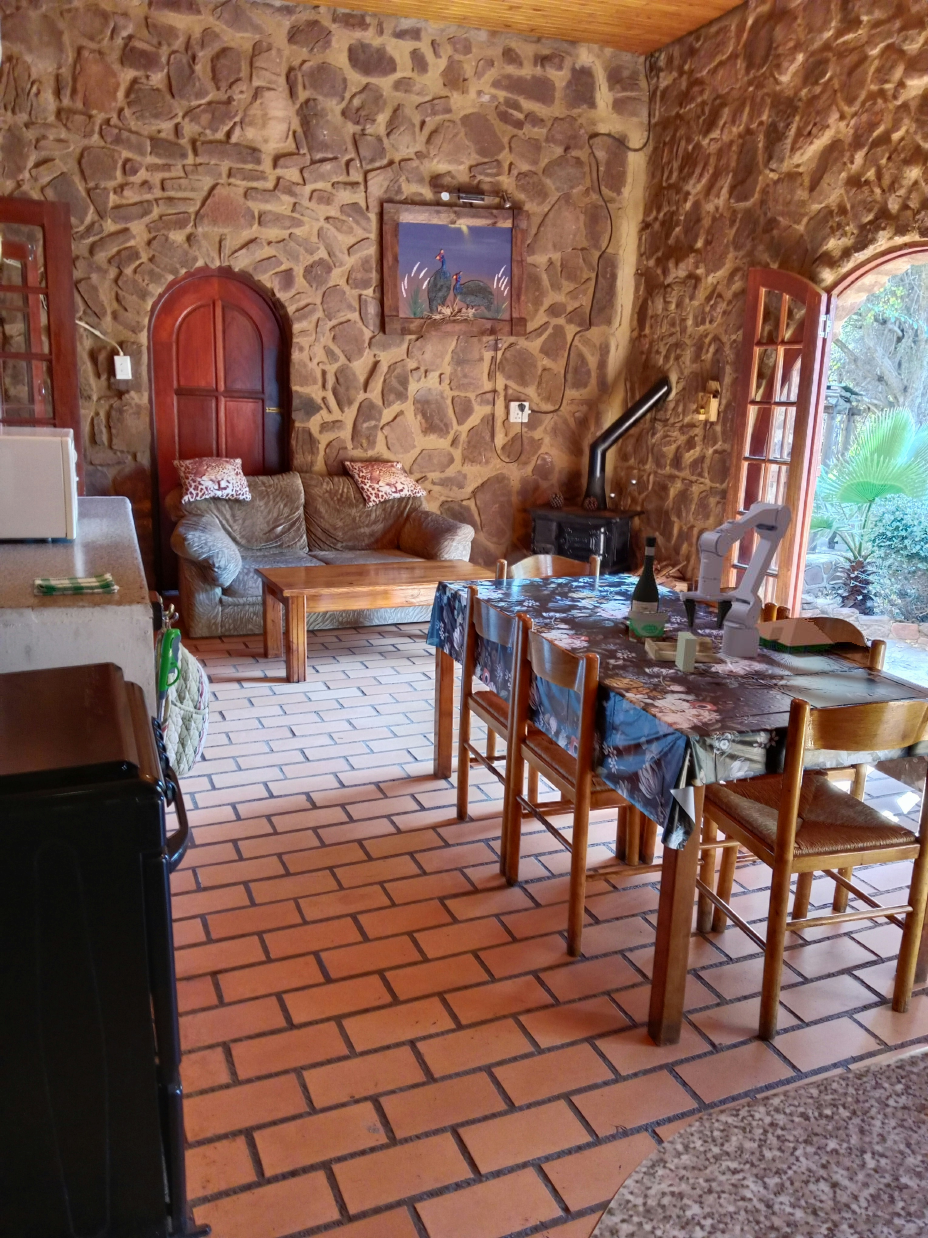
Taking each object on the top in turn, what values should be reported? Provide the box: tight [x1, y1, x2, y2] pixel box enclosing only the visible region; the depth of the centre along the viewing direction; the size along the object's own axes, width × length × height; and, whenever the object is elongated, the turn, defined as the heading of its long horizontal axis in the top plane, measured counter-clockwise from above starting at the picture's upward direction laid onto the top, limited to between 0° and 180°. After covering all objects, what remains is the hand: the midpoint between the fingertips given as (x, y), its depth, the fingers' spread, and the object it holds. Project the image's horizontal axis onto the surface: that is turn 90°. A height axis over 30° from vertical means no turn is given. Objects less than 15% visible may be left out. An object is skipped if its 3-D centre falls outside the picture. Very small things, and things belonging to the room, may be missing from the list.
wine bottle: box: [630, 535, 660, 612], centre depth 291 cm, size 8×8×30 cm
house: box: [755, 616, 873, 654], centre depth 297 cm, size 23×33×8 cm
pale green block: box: [674, 631, 697, 673], centre depth 261 cm, size 3×7×9 cm, turn 3°
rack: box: [644, 638, 720, 663], centre depth 274 cm, size 18×11×4 cm, turn 93°
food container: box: [626, 608, 670, 645], centre depth 285 cm, size 12×6×10 cm, turn 105°
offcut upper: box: [695, 636, 713, 650], centre depth 273 cm, size 4×5×2 cm
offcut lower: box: [696, 647, 714, 654], centre depth 274 cm, size 4×6×2 cm, turn 3°
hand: (704, 627), depth 267 cm, fingers open, 7 cm apart
